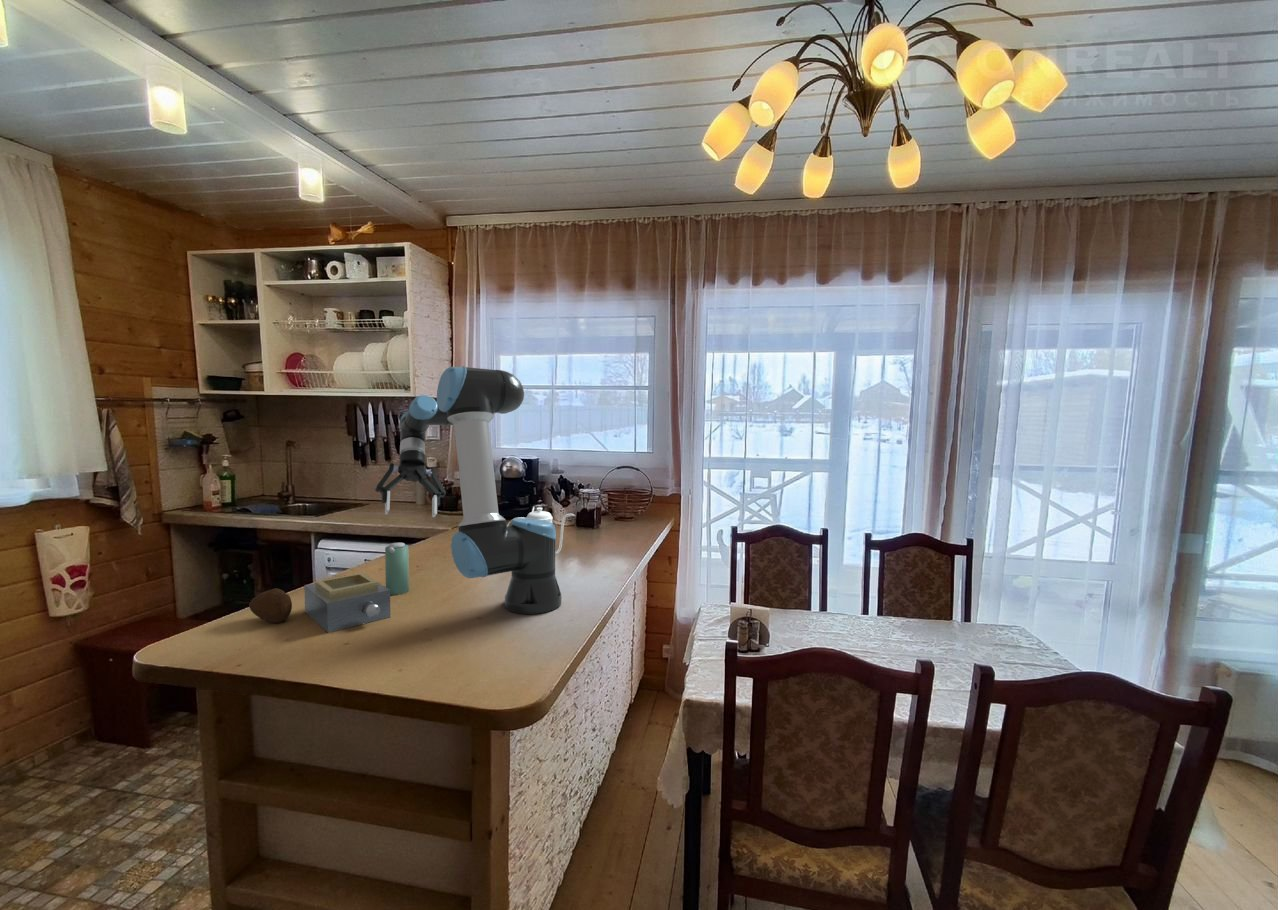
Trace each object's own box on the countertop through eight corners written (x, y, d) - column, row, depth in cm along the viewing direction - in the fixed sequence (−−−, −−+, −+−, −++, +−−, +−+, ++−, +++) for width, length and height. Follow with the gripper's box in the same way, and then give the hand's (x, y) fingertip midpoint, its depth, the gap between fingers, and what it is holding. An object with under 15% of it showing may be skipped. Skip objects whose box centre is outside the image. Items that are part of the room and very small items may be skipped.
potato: (277, 628, 122) (276, 595, 121) (242, 624, 124) (241, 592, 123) (303, 617, 129) (302, 585, 129) (269, 613, 131) (268, 582, 130)
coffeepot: (571, 565, 179) (572, 511, 178) (501, 562, 181) (501, 508, 180) (578, 557, 190) (578, 506, 188) (511, 554, 192) (511, 503, 191)
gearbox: (395, 620, 128) (394, 586, 128) (332, 636, 118) (331, 600, 117) (363, 599, 142) (363, 568, 142) (305, 612, 132) (304, 579, 132)
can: (391, 588, 152) (390, 541, 151) (412, 588, 152) (411, 541, 151) (379, 596, 145) (379, 547, 144) (401, 596, 145) (401, 548, 144)
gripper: (448, 465, 178) (449, 521, 167) (367, 455, 164) (363, 516, 153) (455, 454, 173) (456, 511, 162) (372, 442, 159) (368, 505, 148)
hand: (411, 514), depth 158 cm, fingers open, 13 cm apart
